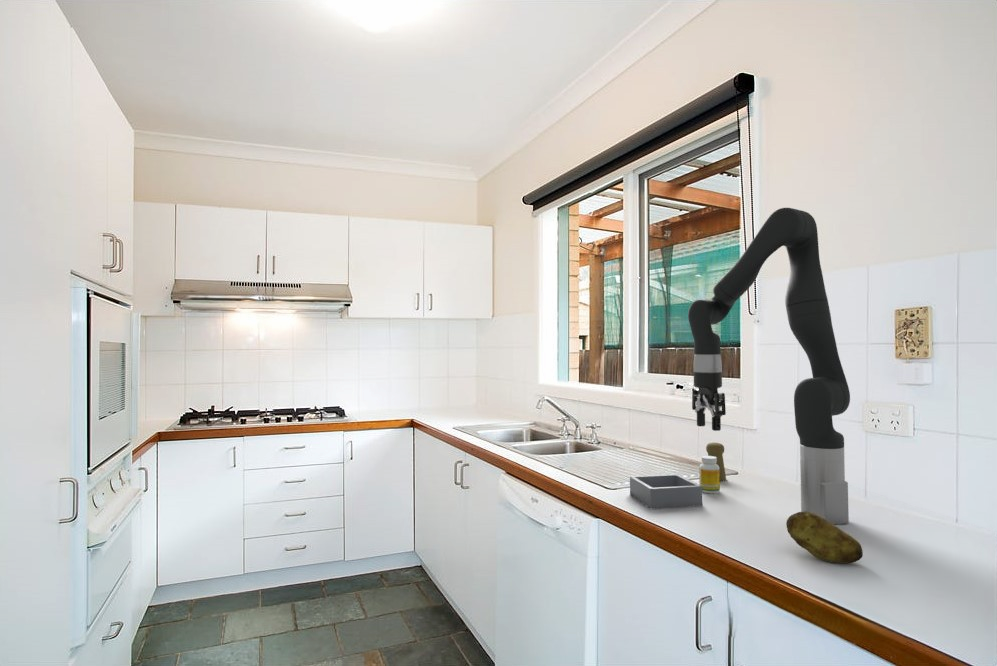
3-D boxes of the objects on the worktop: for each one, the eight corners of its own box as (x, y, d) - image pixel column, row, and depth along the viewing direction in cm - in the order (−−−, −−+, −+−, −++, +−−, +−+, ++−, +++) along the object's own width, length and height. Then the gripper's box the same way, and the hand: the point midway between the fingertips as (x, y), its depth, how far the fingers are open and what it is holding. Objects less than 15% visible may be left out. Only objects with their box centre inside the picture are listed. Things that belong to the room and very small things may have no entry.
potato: (838, 572, 109) (837, 528, 109) (779, 550, 120) (778, 510, 121) (868, 565, 112) (867, 522, 112) (808, 544, 124) (808, 505, 124)
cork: (722, 482, 177) (722, 445, 177) (702, 479, 181) (701, 443, 181) (728, 478, 182) (728, 442, 182) (708, 476, 186) (708, 440, 186)
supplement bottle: (696, 489, 170) (696, 455, 170) (715, 488, 170) (714, 455, 170) (703, 494, 164) (703, 459, 164) (723, 493, 165) (722, 458, 165)
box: (702, 505, 153) (702, 486, 153) (650, 508, 151) (650, 488, 151) (677, 492, 167) (677, 474, 167) (630, 494, 165) (629, 476, 165)
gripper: (733, 371, 161) (734, 431, 161) (707, 369, 175) (708, 424, 175) (707, 372, 160) (708, 432, 160) (683, 369, 174) (684, 425, 174)
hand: (708, 428), depth 167 cm, fingers open, 8 cm apart
